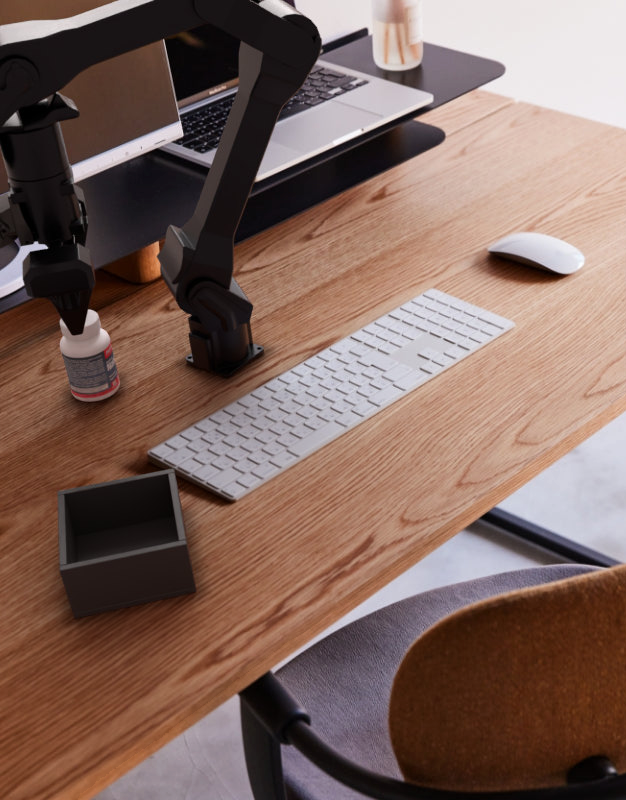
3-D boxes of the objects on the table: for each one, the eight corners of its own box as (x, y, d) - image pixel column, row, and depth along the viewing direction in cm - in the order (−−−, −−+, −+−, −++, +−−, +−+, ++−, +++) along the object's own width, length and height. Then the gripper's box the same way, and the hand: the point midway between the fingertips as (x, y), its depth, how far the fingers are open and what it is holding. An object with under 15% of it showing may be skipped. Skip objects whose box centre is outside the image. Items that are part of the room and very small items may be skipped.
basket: (70, 538, 97) (57, 491, 93) (183, 514, 98) (173, 468, 95) (74, 619, 89) (59, 570, 85) (196, 592, 90) (186, 544, 87)
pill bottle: (123, 397, 114) (106, 326, 109) (73, 407, 113) (54, 336, 108) (118, 371, 118) (102, 301, 113) (70, 380, 117) (52, 311, 112)
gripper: (-46, 145, 106) (-5, 282, 115) (-56, 226, 91) (-8, 376, 100) (68, 128, 108) (100, 264, 117) (76, 204, 93) (112, 353, 102)
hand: (75, 311), depth 109 cm, fingers open, 9 cm apart
